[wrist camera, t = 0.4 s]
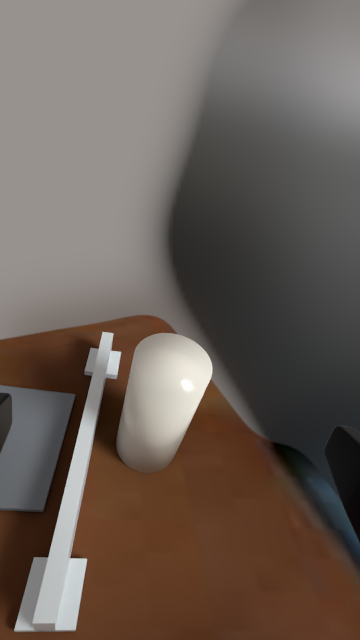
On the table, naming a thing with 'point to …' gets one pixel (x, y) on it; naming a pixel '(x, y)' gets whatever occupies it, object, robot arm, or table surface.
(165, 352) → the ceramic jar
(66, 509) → the light grey long bar
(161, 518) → the table surface
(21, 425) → the slate mat
